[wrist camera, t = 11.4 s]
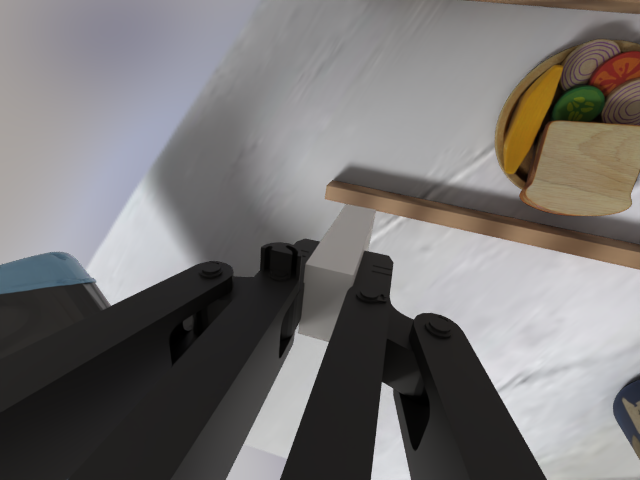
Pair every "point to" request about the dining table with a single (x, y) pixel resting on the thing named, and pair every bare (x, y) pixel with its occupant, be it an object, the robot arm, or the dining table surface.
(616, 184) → the toy sandwich meal
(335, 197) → the open-ended frame
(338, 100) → the dining table surface
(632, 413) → the canister
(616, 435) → the dining table surface
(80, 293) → the robot arm
